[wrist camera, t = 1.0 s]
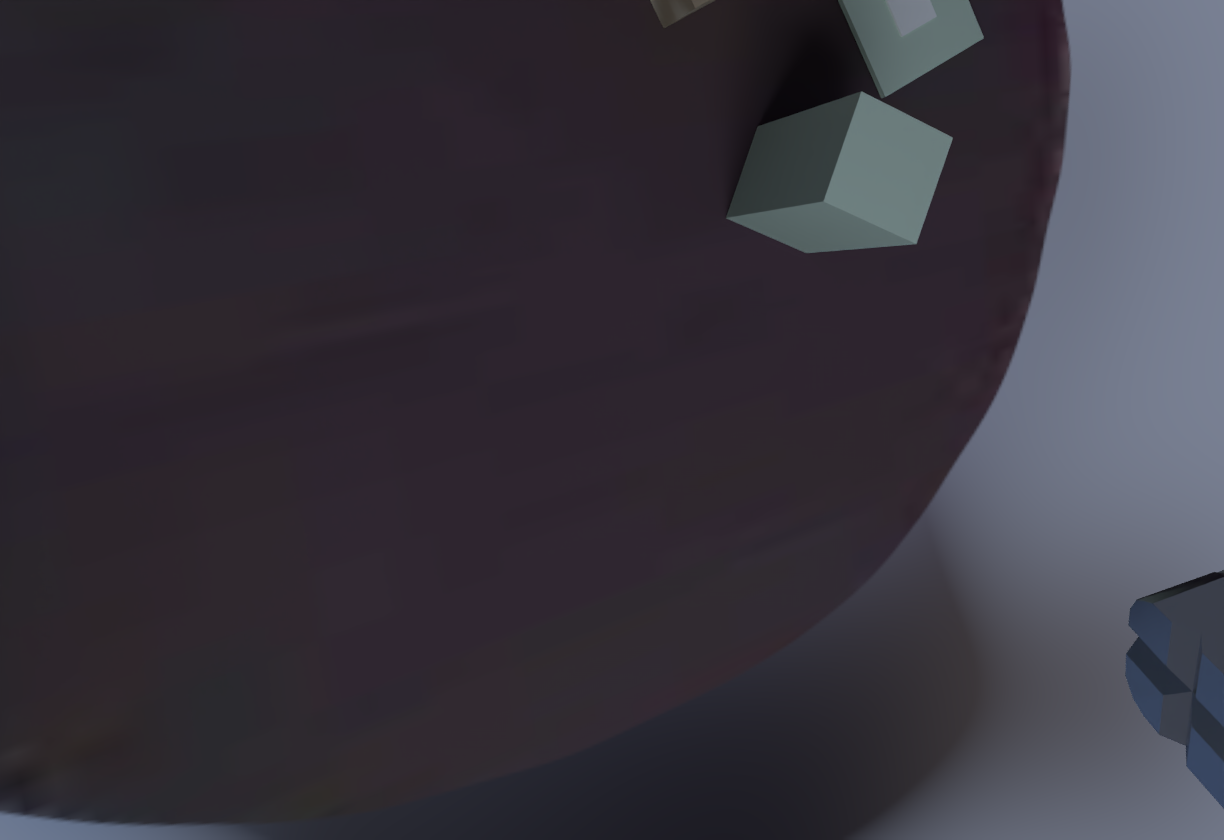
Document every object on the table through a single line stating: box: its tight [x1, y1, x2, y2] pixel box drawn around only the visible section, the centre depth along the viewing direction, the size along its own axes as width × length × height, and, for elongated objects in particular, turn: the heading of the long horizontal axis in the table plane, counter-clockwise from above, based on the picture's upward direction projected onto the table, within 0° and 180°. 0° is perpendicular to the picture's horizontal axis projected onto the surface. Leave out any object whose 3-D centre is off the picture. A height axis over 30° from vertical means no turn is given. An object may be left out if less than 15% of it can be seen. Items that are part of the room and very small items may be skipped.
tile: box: [838, 0, 984, 98], centre depth 58 cm, size 7×7×1 cm
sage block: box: [726, 91, 953, 253], centre depth 52 cm, size 5×5×10 cm
